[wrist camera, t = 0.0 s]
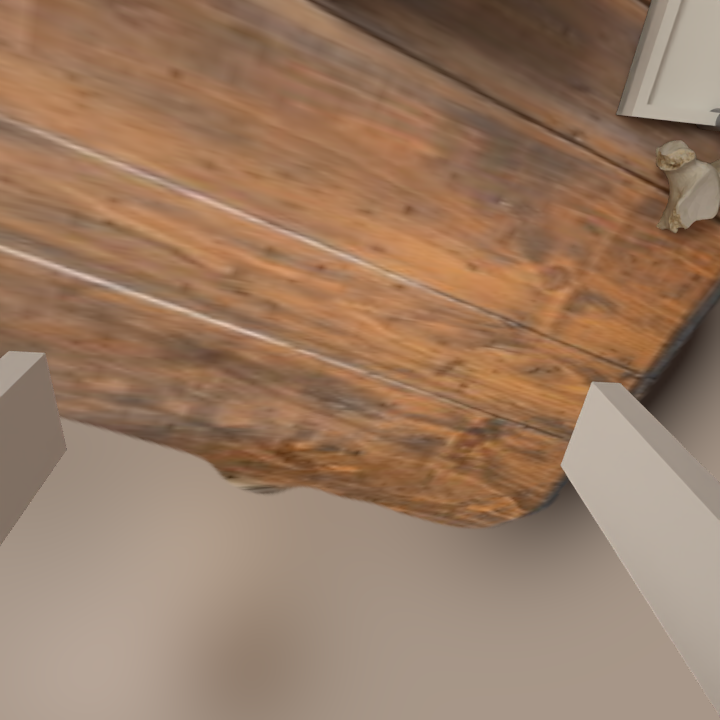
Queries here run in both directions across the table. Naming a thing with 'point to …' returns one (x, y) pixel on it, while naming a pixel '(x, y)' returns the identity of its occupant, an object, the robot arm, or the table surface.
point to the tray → (677, 65)
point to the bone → (687, 186)
